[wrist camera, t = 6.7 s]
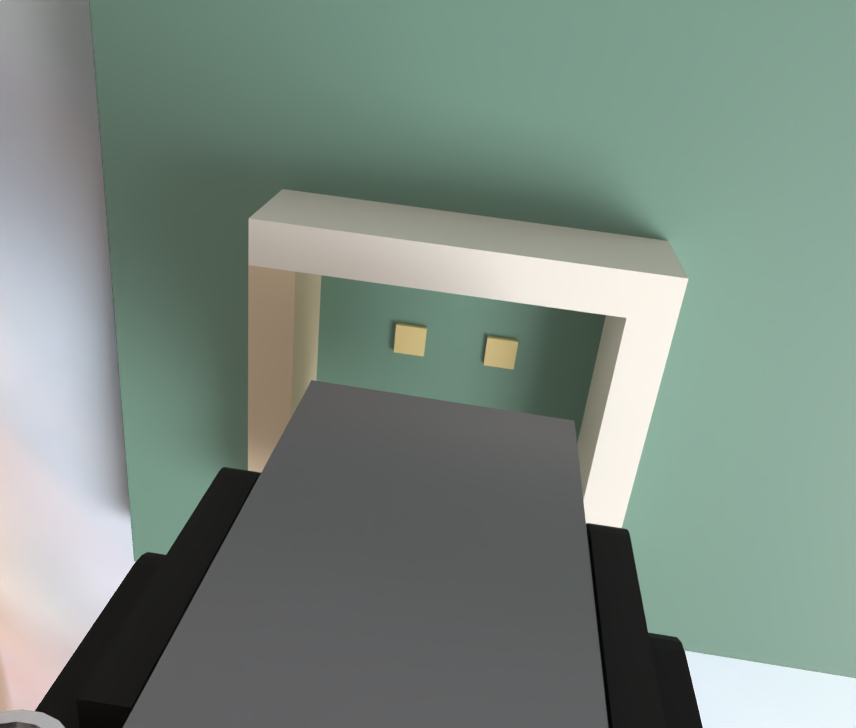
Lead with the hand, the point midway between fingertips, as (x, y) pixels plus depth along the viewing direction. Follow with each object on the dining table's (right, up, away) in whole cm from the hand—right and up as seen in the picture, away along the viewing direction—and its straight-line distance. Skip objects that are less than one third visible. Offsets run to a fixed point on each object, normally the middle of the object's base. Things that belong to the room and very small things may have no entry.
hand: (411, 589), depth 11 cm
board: (+4, +5, +5) cm, 8 cm away
